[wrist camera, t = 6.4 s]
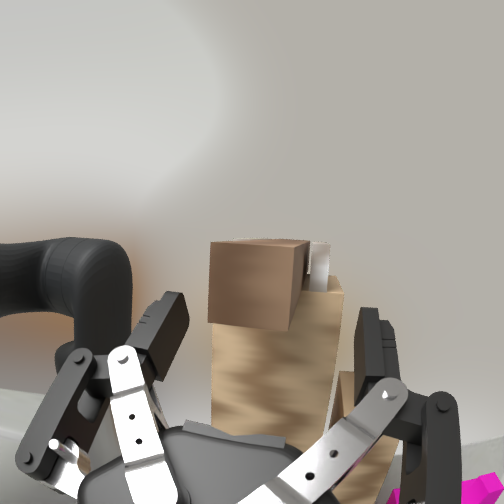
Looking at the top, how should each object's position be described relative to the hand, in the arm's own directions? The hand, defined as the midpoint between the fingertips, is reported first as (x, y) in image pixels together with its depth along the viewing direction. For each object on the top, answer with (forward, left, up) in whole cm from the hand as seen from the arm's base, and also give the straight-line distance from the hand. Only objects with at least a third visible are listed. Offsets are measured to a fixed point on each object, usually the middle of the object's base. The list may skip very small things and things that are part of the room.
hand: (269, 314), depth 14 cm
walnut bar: (-1, +10, 0) cm, 10 cm away
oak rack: (+3, +13, -31) cm, 34 cm away
